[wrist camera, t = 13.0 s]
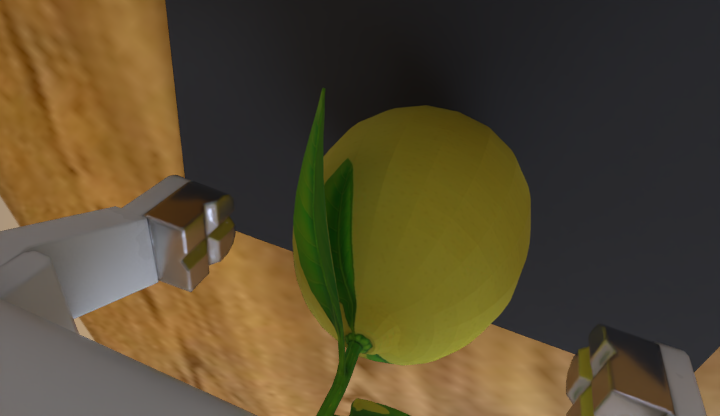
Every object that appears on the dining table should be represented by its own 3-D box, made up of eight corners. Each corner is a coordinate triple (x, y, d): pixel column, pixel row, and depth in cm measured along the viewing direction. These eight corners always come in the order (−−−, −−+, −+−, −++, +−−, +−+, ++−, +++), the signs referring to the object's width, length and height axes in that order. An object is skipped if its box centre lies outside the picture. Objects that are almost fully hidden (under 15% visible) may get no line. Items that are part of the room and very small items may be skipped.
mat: (979, 34, 10) (1017, 46, 9) (670, 368, 17) (676, 391, 16) (174, -119, 14) (151, -121, 13) (202, 202, 21) (188, 213, 20)
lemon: (495, 271, 16) (435, 630, 8) (342, 208, 17) (152, 476, 9) (596, 94, 12) (676, 471, 4) (387, 24, 13) (110, 216, 5)
